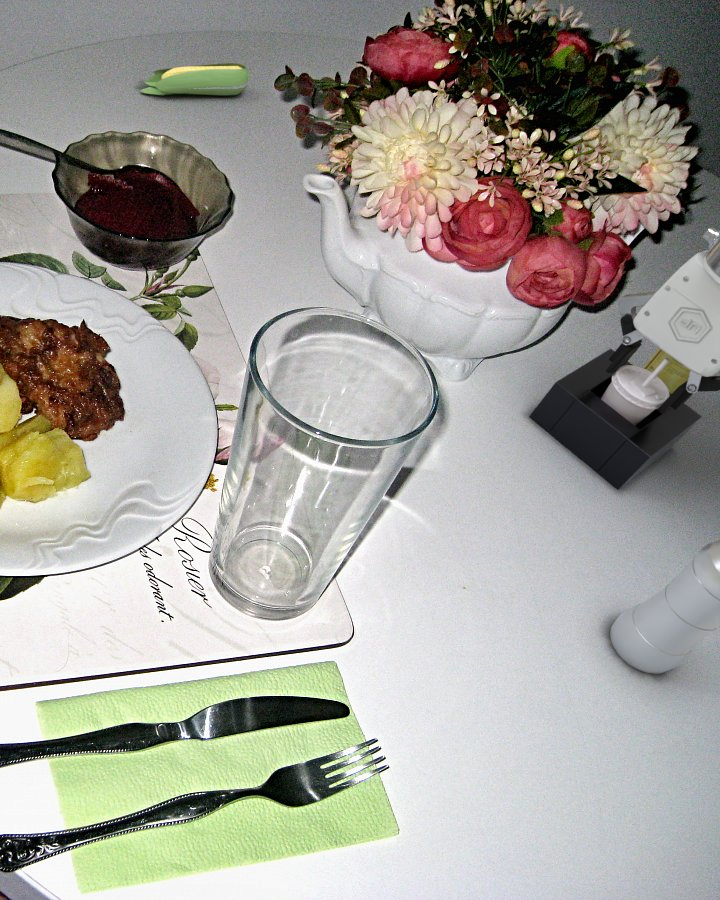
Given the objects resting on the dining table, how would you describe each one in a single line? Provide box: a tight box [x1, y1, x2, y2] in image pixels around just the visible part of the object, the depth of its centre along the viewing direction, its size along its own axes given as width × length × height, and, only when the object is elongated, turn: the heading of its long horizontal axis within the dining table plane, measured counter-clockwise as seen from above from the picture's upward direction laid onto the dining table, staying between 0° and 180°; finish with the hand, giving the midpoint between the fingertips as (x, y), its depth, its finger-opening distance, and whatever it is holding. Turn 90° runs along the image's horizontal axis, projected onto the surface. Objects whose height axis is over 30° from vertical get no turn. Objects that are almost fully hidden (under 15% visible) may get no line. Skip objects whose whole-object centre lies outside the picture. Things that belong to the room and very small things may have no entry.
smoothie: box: [601, 358, 670, 425], centre depth 105 cm, size 6×6×14 cm
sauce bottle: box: [642, 347, 690, 394], centre depth 110 cm, size 6×6×20 cm
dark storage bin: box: [528, 348, 703, 491], centre depth 108 cm, size 13×13×7 cm
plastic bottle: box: [610, 539, 720, 675], centre depth 83 cm, size 6×7×20 cm
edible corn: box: [139, 62, 252, 97], centre depth 148 cm, size 5×20×5 cm, turn 112°
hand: (639, 387), depth 104 cm, fingers closed on smoothie, 6 cm apart
